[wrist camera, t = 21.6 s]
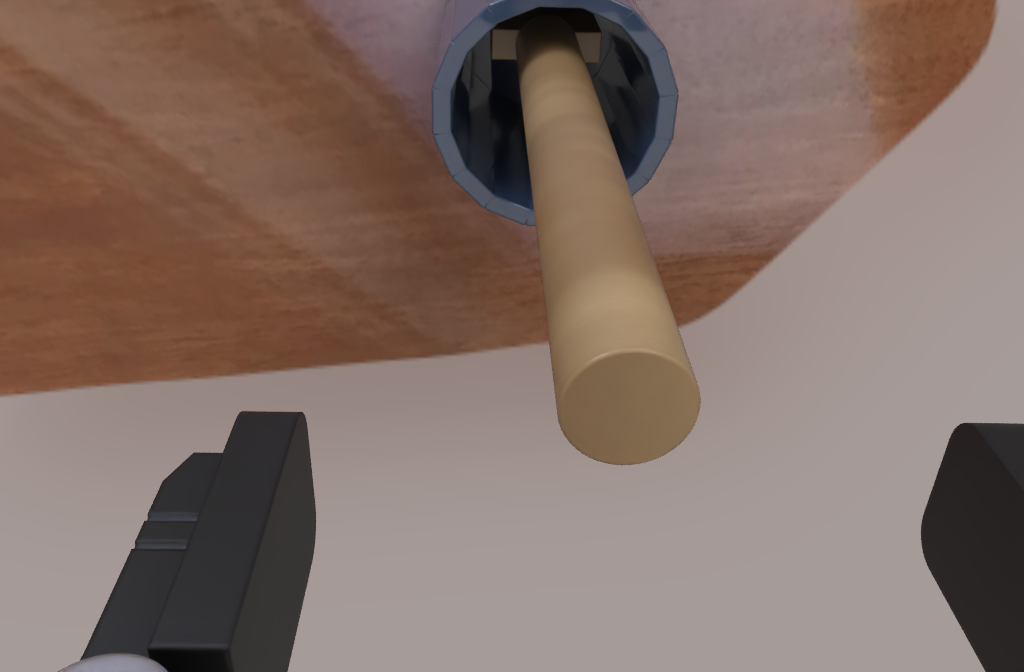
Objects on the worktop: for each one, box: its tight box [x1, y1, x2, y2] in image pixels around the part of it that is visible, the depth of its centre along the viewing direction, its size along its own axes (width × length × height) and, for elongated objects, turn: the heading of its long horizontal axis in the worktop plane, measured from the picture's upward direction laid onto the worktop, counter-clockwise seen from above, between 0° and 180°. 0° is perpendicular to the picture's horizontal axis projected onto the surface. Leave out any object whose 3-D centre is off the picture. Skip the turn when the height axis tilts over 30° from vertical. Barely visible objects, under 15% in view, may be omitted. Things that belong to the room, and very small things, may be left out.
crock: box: [432, 0, 678, 226], centre depth 28 cm, size 6×6×10 cm
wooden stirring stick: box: [490, 7, 700, 465], centre depth 21 cm, size 3×2×23 cm, turn 88°
